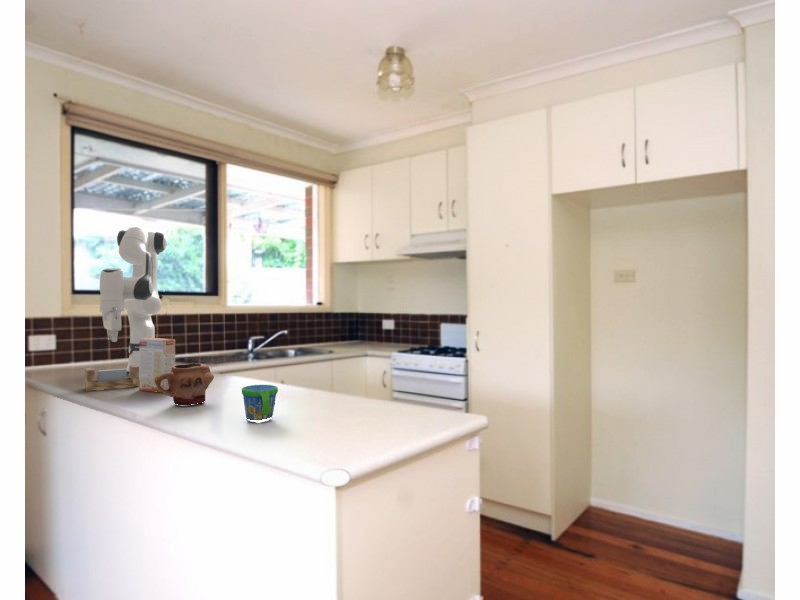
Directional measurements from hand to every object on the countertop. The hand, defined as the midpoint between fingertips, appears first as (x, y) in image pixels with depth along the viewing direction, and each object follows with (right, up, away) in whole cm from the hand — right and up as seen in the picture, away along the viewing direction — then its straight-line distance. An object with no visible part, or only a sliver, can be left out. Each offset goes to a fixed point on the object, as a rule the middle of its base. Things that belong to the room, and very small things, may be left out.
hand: (112, 340), depth 200 cm
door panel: (0, -18, -1) cm, 18 cm away
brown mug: (+45, -20, -32) cm, 59 cm away
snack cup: (+76, -20, -53) cm, 95 cm away
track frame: (0, -19, -1) cm, 19 cm away
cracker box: (+22, -20, -7) cm, 30 cm away
